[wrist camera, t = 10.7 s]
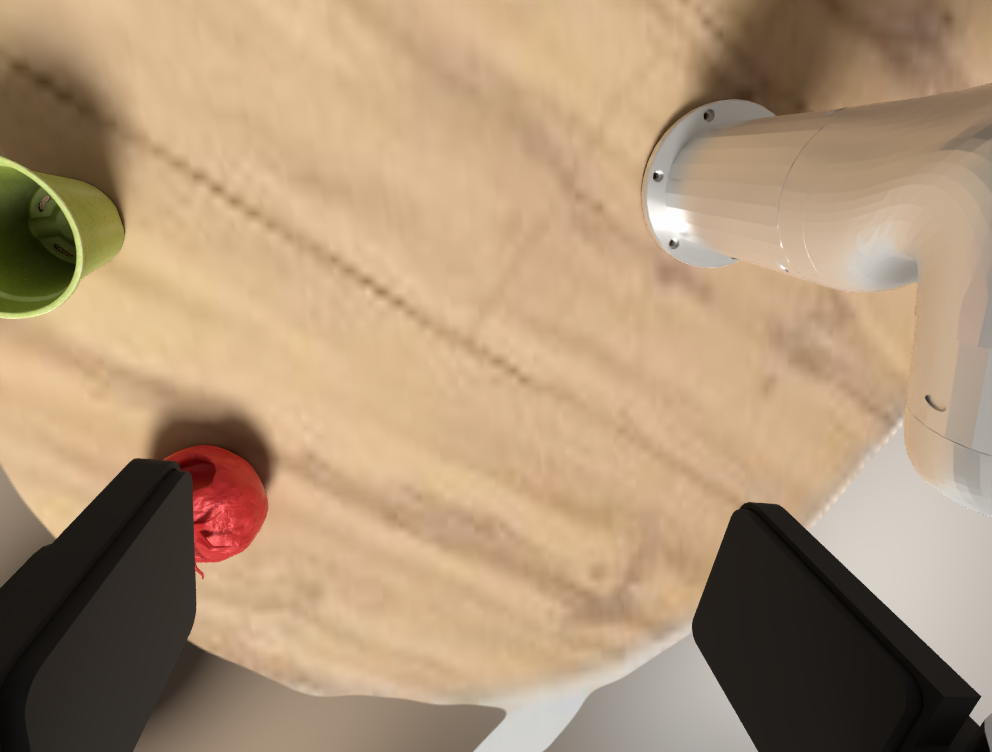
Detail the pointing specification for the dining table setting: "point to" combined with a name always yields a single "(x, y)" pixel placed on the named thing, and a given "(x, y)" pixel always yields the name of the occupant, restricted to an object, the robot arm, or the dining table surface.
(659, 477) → the dining table surface
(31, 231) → the plant pot
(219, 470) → the pomegranate
